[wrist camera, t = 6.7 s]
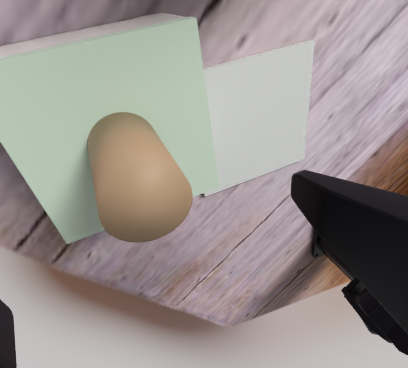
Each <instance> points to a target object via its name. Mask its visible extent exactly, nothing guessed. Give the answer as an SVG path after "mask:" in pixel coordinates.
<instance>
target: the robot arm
mask: <svg viewBox="0 0 408 368" xmlns="http://www.w3.org/2000/svg"><path fill="white" fill-rule="evenodd" d="M291 197H292V199H293V201H294V202H295V203H296V205H297V206H298V208H299V209H300V210H301V212H302V213H303V214H304V216H305V217H306V219H307V220H308V221H309V223H310V224H311V226H312V227H313V228H314V230H315V235H314V242H313V249H312V256H313V257H314V258H317V257H319V256H321V255H323V254H325V255H326V256H327V257H328V258H329V259H330V260H331V261H332V262H333V263H334V264H335V265H336V266H337V267H338V268H339V269H340V270H341V271H342V272H343V273H344V274H345V275H346V276H347V277H348V278H349V279H350V280H351V282H350V283H349V284H348V285H347V286H346V287H344V288H343V289H342V290H341V291H342V292H343V293H344V297H345V298H346V299H347V300H348V302H349V303H350V304H351V305H352V307H353V308H354V309H355V311H356V312H357V313H358V315H359V316H360V317H361V319H362V320H363V322H364V324H365V325H366V327H367V328H368V330H369V331H370V332H371V333H372V334H377V335H379V336H380V337H382V338H383V339H384V340H386V341H387V342H389V343H393V344H394V345H395V347H396V348H397V349H398V350H399V351H400V352H402V353H404V354H406V355H408V196H406V195H402V194H398V193H394V192H390V191H386V190H382V189H378V188H374V187H370V186H366V185H363V184H359V183H355V182H351V181H347V180H343V179H339V178H335V177H331V176H327V175H323V174H319V173H315V172H311V171H307V170H302V171H299V172H297V173H294V174H293V176H292V181H291ZM0 368H16V351H15V335H14V320H13V314H12V311H11V310H10V308H9V307H8V306H6V304H5V303H3V302H2V301H1V300H0Z"/></svg>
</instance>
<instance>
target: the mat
mask: <svg viewBox="0 0 408 368" xmlns="http://www.w3.org/2000/svg"><path fill="white" fill-rule="evenodd" d="M314 44H315V40H308V41H305V42H301V43H297V44H293V45H290V46H286V47H282V48H278V49H274V50H271V51H267V52H263V53H259V54H256V55H252V56H248V57H244V58H240V59H237V60H233V61H229V62H225V63H221V64H218V65H214V66H210V67H206V68H203V69H204V77H205V84H206V92H207V99H208V107H209V114H210V121H211V129H212V136H213V144H214V151H215V159H216V166H217V174H218V181H219V187H218V188H216V189H213V190H210V191H208V192H205V193H203V195H204V196H205V197H206V196H208V195H211V194H214V193H216V192H219V191H222V190H224V189H227V188H230V187H232V186H235V185H237V184H240V183H243V182H245V181H248V180H251V179H253V178H256V177H258V176H261V175H264V174H266V173H269V172H272V171H274V170H277V169H280V168H282V167H285V166H287V165H290V164H293V163H295V162H298V161H301V160H303V159H304V155H305V144H306V133H307V122H308V111H309V99H310V88H311V77H312V66H313V55H314Z"/></svg>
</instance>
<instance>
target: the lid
mask: <svg viewBox="0 0 408 368" xmlns="http://www.w3.org/2000/svg"><path fill="white" fill-rule="evenodd" d="M0 142H1V144H2V145H3V147H4V148H5V150H6V151H7V153H8V154H9V156H10V158H11V159H12V161H13V162H14V164H15V165H16V167H17V168H18V170H19V171H20V173H21V174H22V176H23V177H24V179H25V181H26V182H27V184H28V185H29V187H30V188H31V190H32V191H33V193H34V194H35V196H36V197H37V199H38V200H39V202H40V204H41V205H42V207H43V208H44V210H45V211H46V213H47V214H48V216H49V217H50V219H51V220H52V222H53V223H54V225H55V227H56V228H57V230H58V231H59V233H60V234H61V236H62V237H63V239H64V240H65V242H66V243H67V244H69V243H72V242H75V241H77V240H80V239H83V238H85V237H88V236H91V235H93V234H96V233H99V232H101V231H104V230H106V231H107V232H108V233H109V234H111V235H112V236H114V237H115V238H118V239H120V240H123V241H127V242H147V241H151V240H155V239H158V238H160V237H163V236H165V235H167V234H168V233H170V232H171V231H173V230H174V229H175V228H177V227H178V226H179V225H180V224H181V223H182V222H183V220H184V219H185V218H186V216H187V214H188V213H189V210H190V208H191V205H192V200H193V197H194V196H197V195H200V194H202V193H205V192H208V191H210V190H213V189H216V188H218V187H219V181H218V174H217V166H216V159H215V151H214V144H213V136H212V129H211V121H210V114H209V107H208V99H207V92H206V84H205V77H204V69H203V62H202V55H201V47H200V40H199V32H198V25H197V18H196V17H185V18H180V19H176V20H171V21H166V22H162V23H157V24H152V25H148V26H143V27H139V28H134V29H129V30H125V31H120V32H115V33H111V34H106V35H101V36H97V37H92V38H87V39H83V40H78V41H74V42H69V43H64V44H60V45H55V46H50V47H46V48H41V49H36V50H32V51H27V52H23V53H18V54H13V55H9V56H4V57H0Z"/></svg>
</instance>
